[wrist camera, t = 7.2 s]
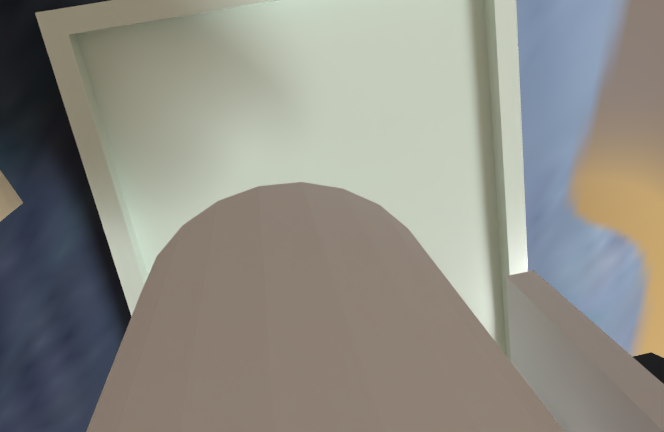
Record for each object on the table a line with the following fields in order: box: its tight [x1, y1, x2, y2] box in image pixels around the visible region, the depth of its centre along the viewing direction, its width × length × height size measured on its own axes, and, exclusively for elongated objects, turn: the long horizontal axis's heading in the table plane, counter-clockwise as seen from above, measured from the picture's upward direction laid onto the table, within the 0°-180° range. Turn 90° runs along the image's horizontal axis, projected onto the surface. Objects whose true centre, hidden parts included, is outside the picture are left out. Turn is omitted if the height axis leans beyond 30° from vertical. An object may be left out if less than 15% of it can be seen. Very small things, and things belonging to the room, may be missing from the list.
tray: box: [35, 0, 528, 361], centre depth 23 cm, size 16×20×2 cm
